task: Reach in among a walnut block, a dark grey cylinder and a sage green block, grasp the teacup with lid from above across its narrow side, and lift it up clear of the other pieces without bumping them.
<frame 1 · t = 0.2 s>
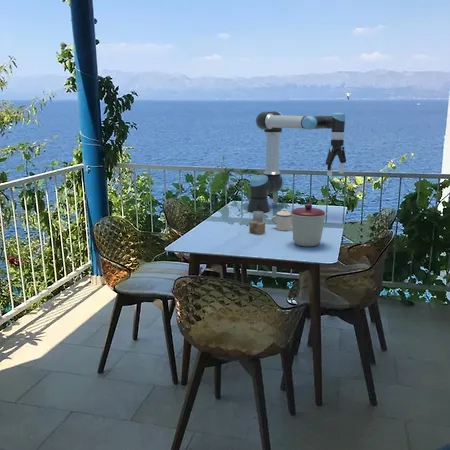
hand: (335, 174, 287), 28 cm above the table, tool pointing down, fingers open, 13 cm apart
walnut block: (257, 233, 261), on the table
teacup with lid: (281, 229, 271), on the table
canister: (306, 244, 241), on the table
dark grey cylinder: (257, 225, 279), on the table
sage green block: (311, 227, 273), on the table
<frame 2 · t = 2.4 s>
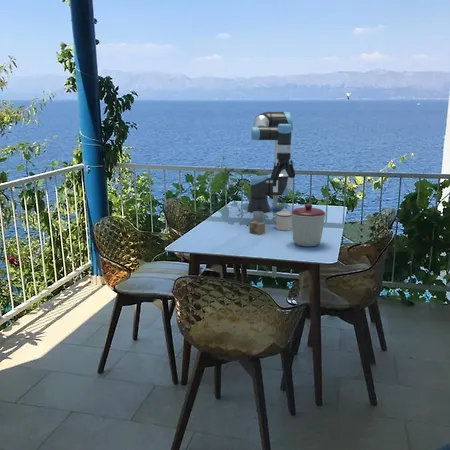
hand: (282, 190, 265), 22 cm above the table, tool pointing down, fingers open, 13 cm apart
nothing on the table moved.
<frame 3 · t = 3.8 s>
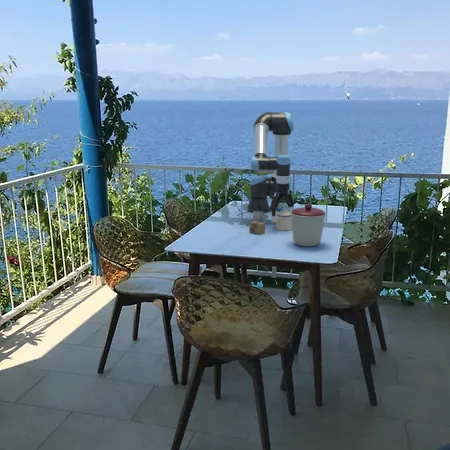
hand: (281, 219, 269), 5 cm above the table, tool pointing down, fingers open, 13 cm apart
nothing on the table moved.
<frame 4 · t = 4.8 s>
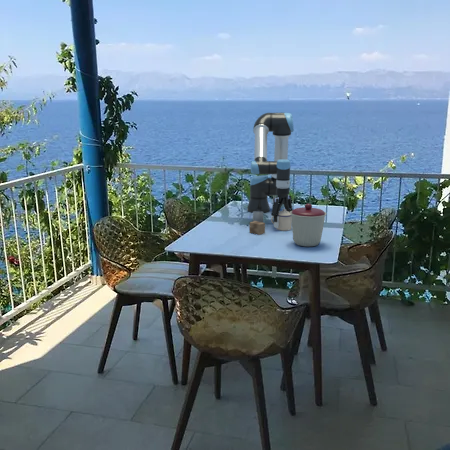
hand: (281, 225, 270), 2 cm above the table, tool pointing down, fingers open, 10 cm apart
teacup with lid: (281, 229, 271), on the table, touching gripper
everything else where it was.
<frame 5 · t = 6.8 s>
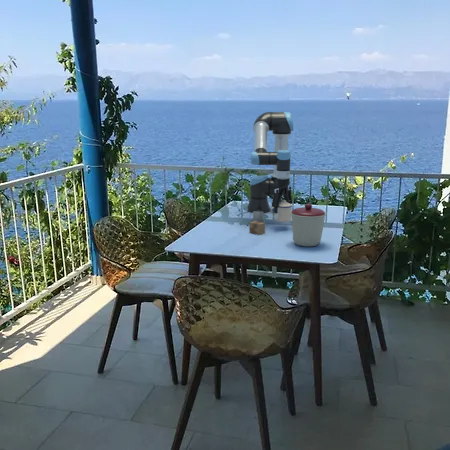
hand: (281, 217, 269), 7 cm above the table, tool pointing down, fingers closed on teacup with lid, 9 cm apart
teacup with lid: (280, 220, 269), point 5 cm above the table, touching gripper
everything else where it was.
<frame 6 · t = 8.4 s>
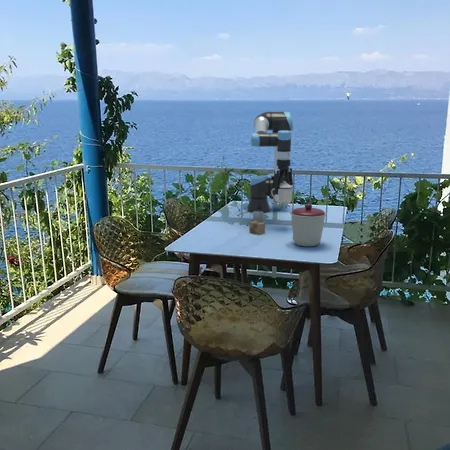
hand: (282, 198, 266), 17 cm above the table, tool pointing down, fingers closed on teacup with lid, 9 cm apart
teacup with lid: (281, 202, 266), point 16 cm above the table, touching gripper
everything else where it was.
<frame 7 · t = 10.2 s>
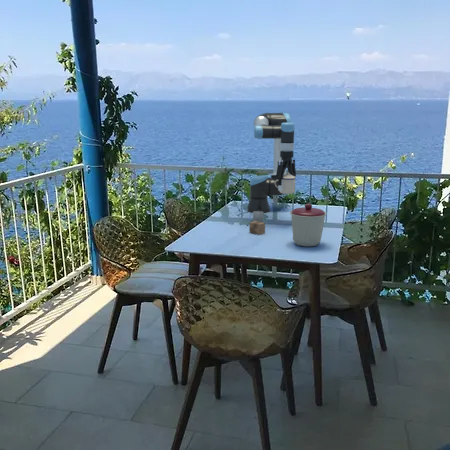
hand: (285, 189, 272), 21 cm above the table, tool pointing down, fingers closed on teacup with lid, 9 cm apart
teacup with lid: (284, 192, 272), point 20 cm above the table, touching gripper
everything else where it was.
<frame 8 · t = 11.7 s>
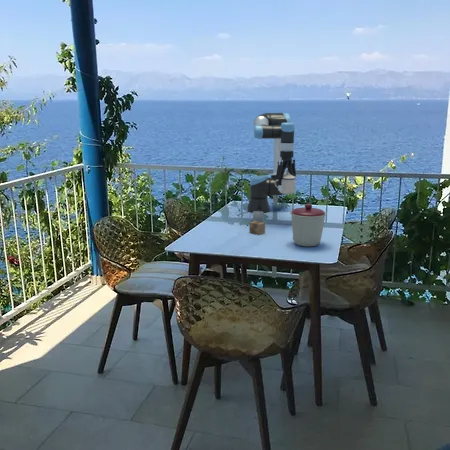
hand: (285, 189, 272), 21 cm above the table, tool pointing down, fingers closed on teacup with lid, 9 cm apart
teacup with lid: (284, 192, 272), point 20 cm above the table, touching gripper
everything else where it was.
at the end: the gripper is holding teacup with lid; teacup with lid point 19.7 cm above the table; dark grey cylinder moved 0.0 cm from its start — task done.
